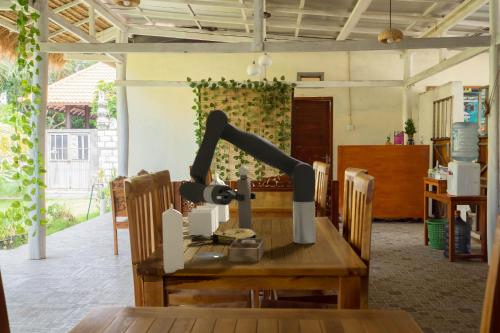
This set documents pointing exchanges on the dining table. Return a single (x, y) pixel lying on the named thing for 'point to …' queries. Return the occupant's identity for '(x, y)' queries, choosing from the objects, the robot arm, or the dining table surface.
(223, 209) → the milk
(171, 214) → the milk
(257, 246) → the caddy
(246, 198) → the pepper mill
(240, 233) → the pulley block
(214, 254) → the disc
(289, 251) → the dining table surface
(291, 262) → the dining table surface
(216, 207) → the storage container
